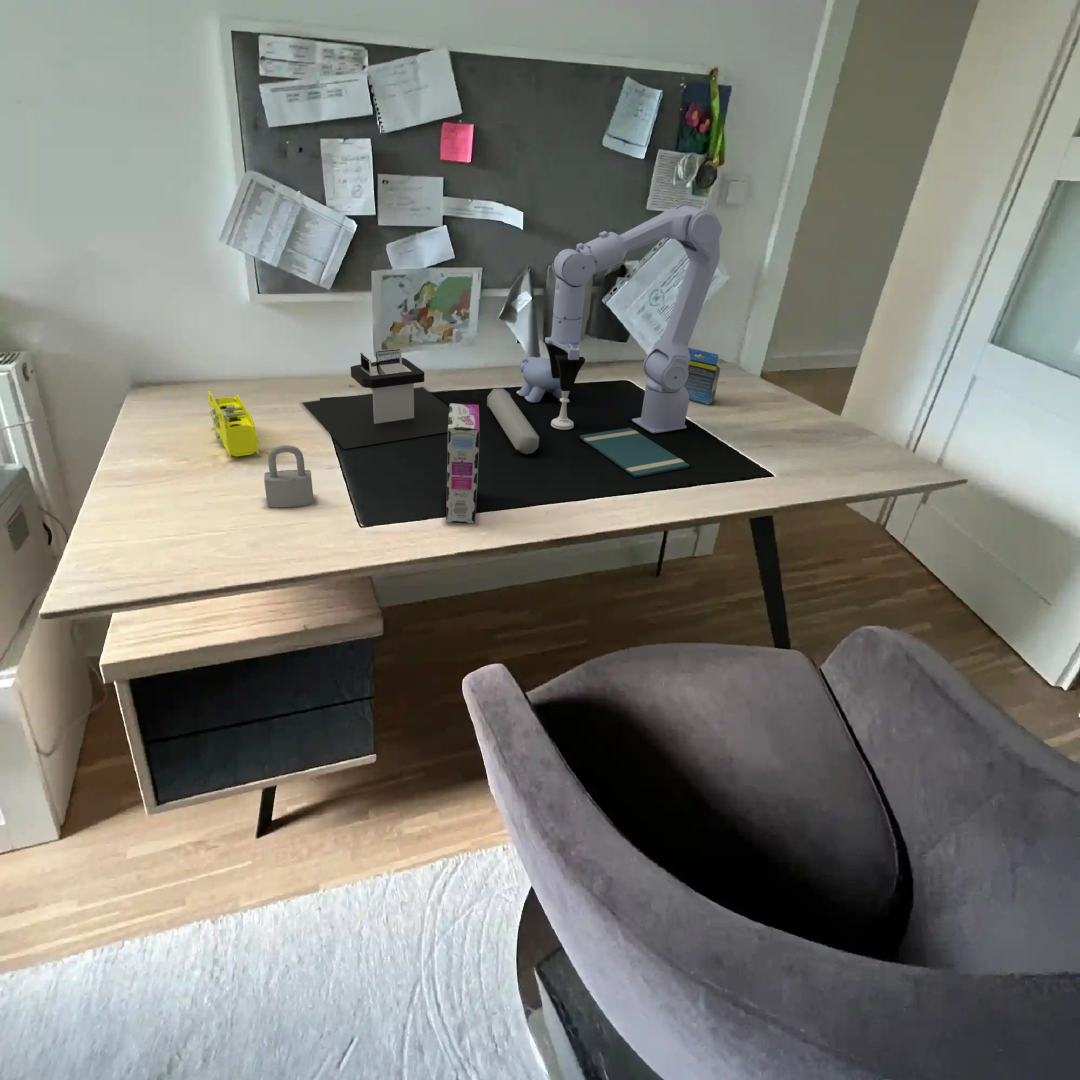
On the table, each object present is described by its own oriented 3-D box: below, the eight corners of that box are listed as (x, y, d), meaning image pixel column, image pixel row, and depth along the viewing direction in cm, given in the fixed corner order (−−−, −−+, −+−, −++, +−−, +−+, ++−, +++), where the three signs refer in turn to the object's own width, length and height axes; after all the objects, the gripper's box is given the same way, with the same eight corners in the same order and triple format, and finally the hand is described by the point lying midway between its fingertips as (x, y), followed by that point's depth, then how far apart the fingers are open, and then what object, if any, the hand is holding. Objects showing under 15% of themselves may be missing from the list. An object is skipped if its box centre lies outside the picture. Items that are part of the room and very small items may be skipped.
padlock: (313, 494, 121) (307, 439, 116) (314, 506, 118) (308, 449, 113) (268, 498, 119) (260, 441, 114) (267, 509, 116) (259, 452, 110)
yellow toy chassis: (211, 429, 141) (204, 387, 136) (242, 425, 143) (236, 384, 139) (227, 461, 129) (220, 417, 125) (260, 456, 132) (254, 413, 127)
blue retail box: (714, 401, 176) (724, 351, 170) (708, 405, 173) (719, 354, 167) (680, 392, 180) (689, 343, 174) (674, 396, 177) (683, 346, 171)
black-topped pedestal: (422, 387, 169) (421, 330, 162) (475, 428, 151) (477, 365, 144) (302, 403, 156) (296, 341, 149) (344, 449, 137) (339, 381, 130)
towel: (630, 429, 156) (630, 427, 156) (689, 467, 142) (689, 464, 141) (579, 437, 150) (579, 435, 150) (635, 477, 136) (635, 475, 136)
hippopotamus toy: (543, 381, 180) (546, 343, 175) (575, 401, 169) (579, 361, 164) (504, 385, 175) (506, 346, 170) (535, 407, 164) (537, 365, 159)
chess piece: (557, 430, 153) (561, 385, 148) (546, 422, 156) (550, 377, 151) (577, 428, 155) (582, 382, 150) (566, 419, 158) (570, 375, 153)
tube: (547, 437, 139) (513, 391, 159) (522, 430, 137) (491, 385, 157) (537, 462, 141) (505, 413, 161) (512, 455, 139) (483, 407, 159)
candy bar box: (477, 525, 116) (480, 429, 108) (445, 524, 116) (446, 428, 107) (476, 493, 126) (479, 402, 117) (447, 492, 125) (448, 401, 117)
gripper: (539, 306, 146) (535, 372, 153) (556, 326, 134) (550, 396, 141) (573, 307, 147) (567, 372, 154) (592, 326, 135) (585, 396, 142)
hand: (561, 384), depth 147 cm, fingers open, 7 cm apart
